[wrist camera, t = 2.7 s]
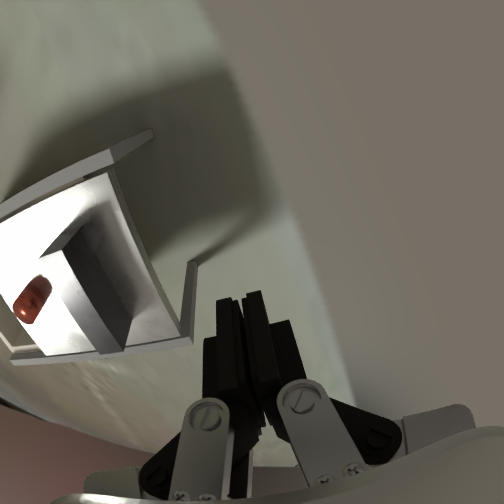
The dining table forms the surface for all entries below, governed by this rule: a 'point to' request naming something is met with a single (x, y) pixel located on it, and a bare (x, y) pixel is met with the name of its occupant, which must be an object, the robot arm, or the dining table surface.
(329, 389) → the dining table surface
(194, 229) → the dining table surface
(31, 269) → the lid
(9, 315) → the white box with rails
